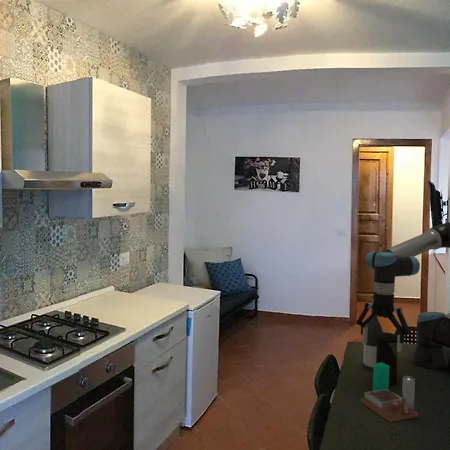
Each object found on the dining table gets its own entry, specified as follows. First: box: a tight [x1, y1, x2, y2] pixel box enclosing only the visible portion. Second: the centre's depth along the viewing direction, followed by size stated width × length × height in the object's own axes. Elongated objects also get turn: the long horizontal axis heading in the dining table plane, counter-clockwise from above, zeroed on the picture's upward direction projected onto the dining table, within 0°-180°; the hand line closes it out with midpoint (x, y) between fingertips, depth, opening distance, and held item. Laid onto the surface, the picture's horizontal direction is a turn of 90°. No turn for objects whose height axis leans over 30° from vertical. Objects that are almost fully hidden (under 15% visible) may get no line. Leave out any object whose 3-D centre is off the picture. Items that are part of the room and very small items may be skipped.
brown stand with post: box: [360, 375, 420, 423], centre depth 171 cm, size 12×16×14 cm
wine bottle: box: [362, 299, 384, 371], centre depth 210 cm, size 8×8×30 cm
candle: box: [372, 361, 390, 391], centre depth 186 cm, size 6×6×12 cm
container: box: [376, 331, 398, 387], centre depth 195 cm, size 9×9×20 cm
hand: (381, 347), depth 185 cm, fingers open, 13 cm apart
